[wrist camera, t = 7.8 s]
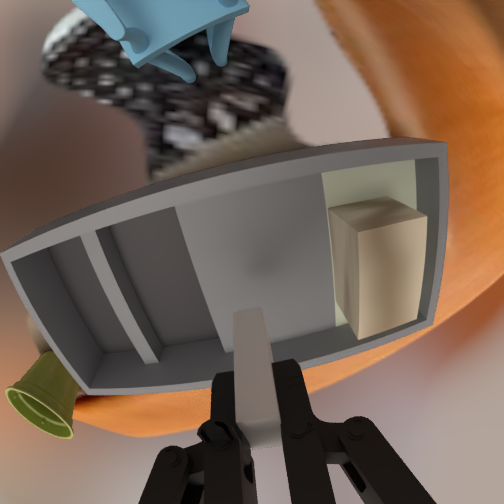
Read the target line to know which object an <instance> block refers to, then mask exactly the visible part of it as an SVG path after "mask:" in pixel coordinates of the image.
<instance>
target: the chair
mask: <svg viewBox="0 0 504 504" xmlns="http://www.w3.org/2000/svg"><path fill="white" fill-rule="evenodd" d="M72 2H73V3H74V4H75V5H76V6H77V7H78V8H79V9H80V10H82V11H83V12H84V13H85V14H86V15H88V16H89V17H90V18H91V19H92V20H94V21H95V22H96V23H97V24H98V25H100V26H101V27H102V28H103V29H104V30H105V31H106V32H107V33H108V35H109V36H110V37H111V38H112V39H114V40H117V41H119V42H120V43H121V45H122V47H123V49H124V50H125V52H126V54H127V55H128V57H129V59H130V60H131V62H132V64H133V65H134V66H136V67H137V68H140V67H141V66H143V65H144V64H146V63H150V64H153V65H155V66H157V67H160V68H162V69H165V70H167V71H169V72H171V73H173V74H175V75H177V76H180V77H181V78H182V79H183V80H184V81H186V82H187V83H193V82H194V81H195V80H196V74H195V72H194V70H193V69H192V67H191V66H190V65H189V64H188V63H187V62H185V61H184V60H183V59H182V58H180V57H179V56H178V55H176V54H175V53H173V52H172V51H170V50H169V48H171V47H173V46H174V45H176V44H178V43H179V42H181V41H183V40H185V39H186V38H188V37H190V36H192V35H194V34H196V33H198V32H200V31H202V30H205V29H206V31H207V38H208V43H209V48H210V52H211V55H212V58H213V60H214V62H215V64H216V65H218V66H220V67H223V66H225V65H226V64H227V53H228V47H229V42H230V37H231V32H232V28H233V23H234V20H235V17H237V16H239V15H242V14H244V13H247V12H248V11H249V6H250V5H249V4H248V3H247V2H246V0H72Z"/></svg>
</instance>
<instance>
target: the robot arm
mask: <svg viewBox="0 0 504 504" xmlns="http://www.w3.org/2000/svg"><path fill="white" fill-rule="evenodd" d="M233 346H234V371H227V372H221V373H216V375H215V377H214V379H213V381H212V389H211V392H212V394H211V416H210V420H208V421H206V422H204V423H203V424H202V425H201V426H200V427H199V429H198V432H197V435H198V436H199V437H200V438H201V440H202V442H200V443H198V444H195V445H192V446H189V447H187V448H184V449H183V448H181V447H178V446H168V447H165V448H164V449H162V450H161V451H160V452H159V454H158V455H157V458H156V460H155V463H154V465H153V468H152V470H151V473H150V475H149V478H148V481H147V483H146V486H145V488H144V490H143V493H142V496H141V498H140V501H139V503H138V504H258V500H257V491H256V480H255V469H254V461H253V458H252V456H251V450H250V447H251V448H252V450H254V449H262V448H269V447H275V446H281V445H283V451H284V458H285V464H286V470H287V477H288V482H289V489H290V496H291V502H292V504H336V502H335V498H334V493H333V489H332V485H331V481H330V477H329V472H328V468H327V464H339V465H340V466H341V468H342V469H343V471H344V472H345V474H346V476H347V477H348V479H349V480H350V482H351V483H352V485H353V487H354V488H355V490H356V491H357V493H358V494H359V496H360V497H361V499H362V500H363V502H364V503H365V504H436V502H435V501H434V500H433V499H432V497H431V496H430V495H429V494H428V492H427V491H426V490H425V489H424V487H423V486H422V485H421V483H420V482H419V481H418V480H417V479H416V477H415V476H414V475H413V473H412V472H411V471H410V470H409V468H408V467H407V466H406V464H405V463H404V462H403V461H402V459H401V458H400V457H399V455H398V454H397V453H396V452H395V450H394V449H393V448H392V446H391V445H390V444H389V443H388V441H387V440H386V439H385V438H384V436H383V435H382V434H381V432H380V431H379V430H378V428H377V427H376V426H375V425H374V423H373V422H372V421H371V420H369V419H368V418H365V417H362V416H360V417H359V416H356V417H353V418H349V419H347V420H346V421H345V422H344V423H329V422H324V421H321V420H319V419H318V418H316V416H315V415H314V414H313V412H312V409H311V405H310V401H309V397H308V394H307V390H306V386H305V382H304V378H303V375H302V371H301V367H300V365H299V364H298V363H297V362H296V361H295V360H294V358H292V359H288V360H283V361H278V362H273V356H272V351H271V345H270V340H269V336H268V332H267V328H266V324H265V320H264V316H263V312H262V308H261V307H256V308H251V309H247V310H242V311H237V312H233Z"/></svg>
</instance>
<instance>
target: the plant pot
mask: <svg viewBox="0 0 504 504" xmlns="http://www.w3.org/2000/svg"><path fill="white" fill-rule="evenodd" d="M78 388H79V384H78V383H77V382H76V380H75V379H74V378H73V377H72V375H71V374H70V373H69V372H68V370H67V369H66V368H65V366H64V365H63V364H62V362H61V361H60V360H59V358H58V357H57V356H56V354H55V353H54V351H47V352H45V353H43V354H42V355H41V356H40V357H39V359H38V360H37V361H36V362H35V363H34V365H33V366H32V367H31V368H30V369H29V370H28V371H27V373H26V374H25V375H24V376H23V377H22V378H21V380H20V381H18V382H16V383H15V384H14V385H13V386H10V387H7V389H6V391H5V393H6V396H7V398H8V401H9V402H10V404H11V405H12V406H13V408H14V409H15V410H16V411H17V412H18V413H19V414H20V415H21V416H22V417H24V418H25V419H26V420H27V421H29V422H30V423H31V424H32V425H34V426H35V427H37V428H39V429H40V430H42V431H44V432H46V433H48V434H50V435H53V436H55V437H58V438H62V439H70V438H72V437H73V435H74V431H73V429H72V424H73V420H72V415H73V410H74V405H75V400H76V396H77V392H78Z"/></svg>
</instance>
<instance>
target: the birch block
mask: <svg viewBox="0 0 504 504" xmlns="http://www.w3.org/2000/svg"><path fill="white" fill-rule="evenodd" d="M327 209H328V217H329V226H330V235H331V246H332V257H333V269H334V284H335V301H336V303H337V304H338V306H339V308H340V309H341V311H342V313H343V315H344V316H345V318H346V320H347V321H348V323H349V325H350V327H351V328H352V330H353V332H354V334H355V335H356V337H357V339H358V340H360V339H363V338H366V337H369V336H372V335H375V334H378V333H381V332H383V331H386V330H389V329H392V328H394V327H397V326H400V325H402V324H405V323H408V322H410V321H413V320H415V319H417V314H418V309H419V302H420V296H421V289H422V281H423V273H424V263H425V252H426V237H427V216H426V215H424V214H423V213H421V212H419V211H417V210H415V209H413V208H411V207H409V206H407V205H405V204H403V203H401V202H399V201H397V200H395V199H392V198H390V197H388V196H385V197H380V198H375V199H370V200H364V201H359V202H354V203H349V204H344V205H339V206H334V207H329V208H327Z"/></svg>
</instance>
